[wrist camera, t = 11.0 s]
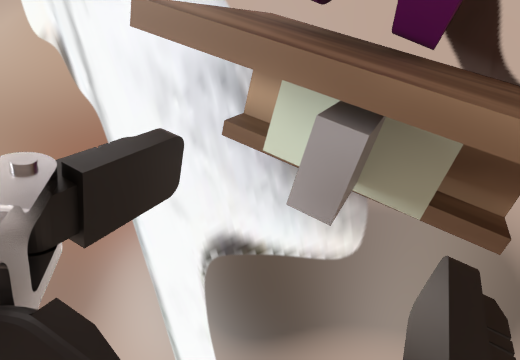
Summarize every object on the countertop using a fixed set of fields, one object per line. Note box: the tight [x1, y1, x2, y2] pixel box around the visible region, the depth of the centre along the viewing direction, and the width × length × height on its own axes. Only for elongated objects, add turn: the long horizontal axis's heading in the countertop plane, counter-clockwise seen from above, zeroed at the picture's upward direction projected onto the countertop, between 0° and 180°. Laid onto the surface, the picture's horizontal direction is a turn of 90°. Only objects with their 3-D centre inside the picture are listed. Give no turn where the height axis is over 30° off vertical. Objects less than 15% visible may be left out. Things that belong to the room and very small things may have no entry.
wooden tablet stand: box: [130, 0, 520, 255], centre depth 19 cm, size 9×20×14 cm, turn 75°
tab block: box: [263, 80, 463, 226], centre depth 19 cm, size 5×9×13 cm, turn 74°
